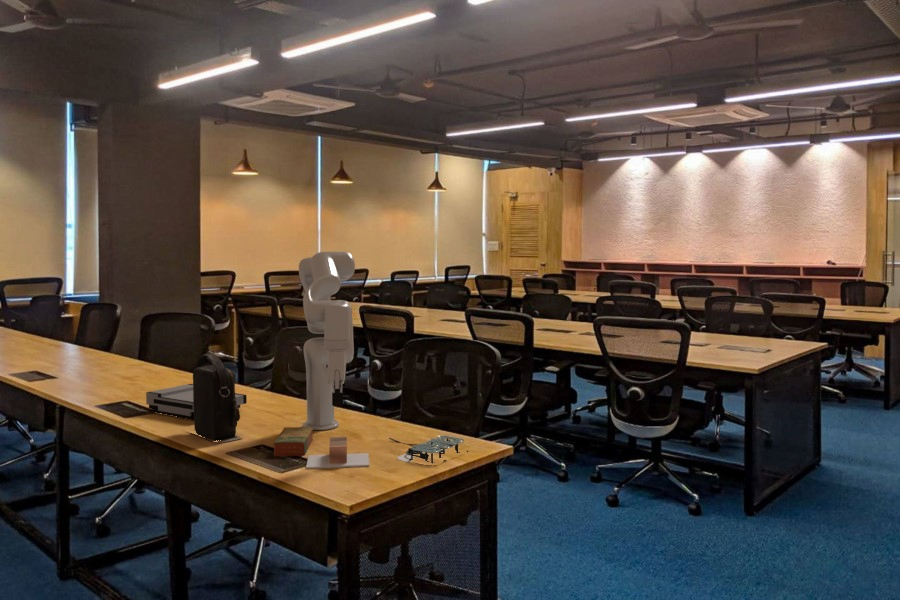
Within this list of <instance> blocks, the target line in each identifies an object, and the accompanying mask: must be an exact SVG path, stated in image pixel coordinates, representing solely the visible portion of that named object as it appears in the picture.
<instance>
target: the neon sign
mask: <svg viewBox="0 0 900 600" xmlns="http://www.w3.org/2000/svg"><path fill="white" fill-rule="evenodd" d="M388 439H389V440H391V441H393V442H396V443H399V444H401V445H402V444H404V445H407V446H411V447H409V448H408V450H406V451H405V453H404V454H401V455H399V456H396V457H397V460H399V461H402V462H404V463H405V462H406V463H410V461H411V460H413V459H415V458H413V457H414V456H415V457H419V458H422V459H425V461H427V460H428V457H429V455H428V454H427V453H431V463H435V462H433V453H438V452H439V458H441V454H445V449H448V448H451V447H455V450H456V453H458V448H459V444H463V443H465V439H464V438H461V437H457V436H456V437H455V436H452V435H451V436H450V435H447V434H446V435H444V434H443V435H438V436H436V438H430V440H426V441H425V442H421V443H418V444H414V443H405V442H401V441H399V440H396V439H393V438H391V437H389V438H388ZM445 446H446V447H445ZM434 447H437V448H434ZM441 449H443V450H441ZM422 452H425V453H422ZM441 452H443V453H441ZM459 453H460V452H459ZM413 454H420V456H418V455H413ZM442 458H443V457H442ZM427 462H429V461H427ZM410 464H413V463H412V462H411V463H410Z"/></svg>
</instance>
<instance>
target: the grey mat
mask: <svg viewBox="0 0 900 600" xmlns="http://www.w3.org/2000/svg"><path fill="white" fill-rule="evenodd" d="M369 457H370V455H369V452H368V453H367V452H365V453H364V452H361V453H360V452H359V453H347V463H339V464H329V454H309V455H308V457H307V462H306V465H305V469H306V470H310V469H311V470H312V469H335V468H339V469H340V468H361V467H363V468H364V467H367V468H368V467H370V458H369Z"/></svg>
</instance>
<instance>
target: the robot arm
mask: <svg viewBox="0 0 900 600" xmlns="http://www.w3.org/2000/svg"><path fill="white" fill-rule="evenodd" d="M355 269H356V262H355V259H354V257H353V255H352V253H350V252H348V251H319V252H317V253H315V254H313V256H312V257H306V258H302V259H301V260H300V261H299V263H298V274H299V275H298V276H299V278H300V282H301V284H302V287H303V290H304V294H303V298H302V300H303V302H302V306H303V311H304V312H303V313H304V319H305V321H306V324H307V329H308V331H309V332H310V333H312V334H319V335H321V334H322V335H323V334H324V336H323V337H313V338H310V339H308V340H306V341H305V342H304V345H303V356H304V361H305V362H304V363H305V374H306V421H304V422H302V427H312V429H313V431H326V430H327V431H328V430H333V429H335V428H338V427H339V425H340V424H339V421H338V420H336V419H335V407H343V406H344V391H343V384H345V380H346V372H347V371H346V370H347V369H346V368H347V364H349V363H351V362H352V361H353V359H354V354H355V351H354V350H355V347H354V346H355V344H354V326H353V325H354V323H353V322H354V321H353V308H352V306H351V304H350V303H349V301H347V300H343V299H336V300H331V297H332V296H333V295H335V294H337V293H338V292H339V290H340V289H341V287H342V286H341V285H342V282H345V281H348V280H349V279H350V278H352V276H354V274H355V271H356V270H355Z"/></svg>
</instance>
